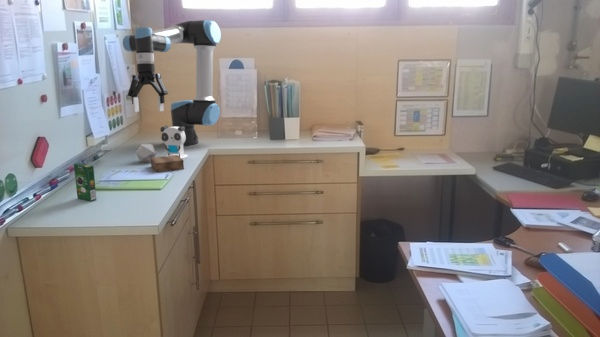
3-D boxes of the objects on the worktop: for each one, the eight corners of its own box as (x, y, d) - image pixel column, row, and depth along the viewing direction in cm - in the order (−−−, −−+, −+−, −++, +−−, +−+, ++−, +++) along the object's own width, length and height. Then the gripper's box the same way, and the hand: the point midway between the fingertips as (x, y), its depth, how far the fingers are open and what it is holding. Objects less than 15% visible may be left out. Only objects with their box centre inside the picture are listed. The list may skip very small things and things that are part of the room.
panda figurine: (158, 158, 260) (155, 127, 256) (171, 153, 270) (169, 124, 266) (179, 160, 256) (177, 129, 252) (192, 155, 266) (190, 125, 262)
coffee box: (97, 199, 196) (93, 164, 193) (91, 202, 194) (86, 166, 191) (84, 196, 201) (79, 162, 197) (77, 198, 198) (72, 163, 195)
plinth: (177, 163, 250) (177, 154, 249) (183, 168, 239) (183, 160, 238) (151, 166, 245) (150, 157, 244) (156, 172, 234) (155, 163, 233)
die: (146, 166, 248) (157, 147, 250) (129, 156, 249) (141, 137, 250) (151, 168, 257) (162, 150, 258) (135, 158, 257) (146, 140, 258)
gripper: (117, 64, 241) (120, 112, 244) (163, 61, 232) (166, 111, 234) (128, 65, 248) (132, 111, 251) (174, 62, 238) (176, 110, 241)
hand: (148, 111), depth 242 cm, fingers open, 13 cm apart
